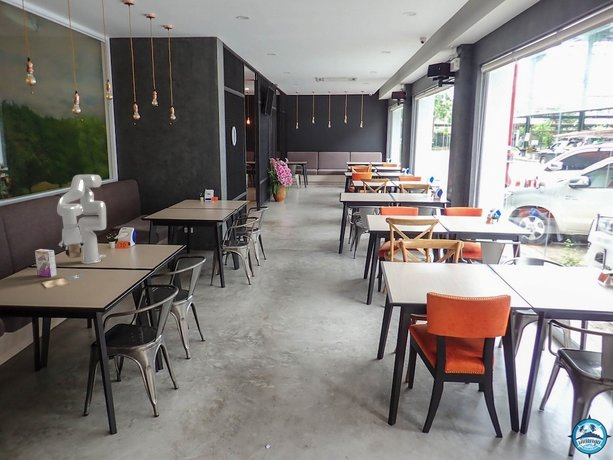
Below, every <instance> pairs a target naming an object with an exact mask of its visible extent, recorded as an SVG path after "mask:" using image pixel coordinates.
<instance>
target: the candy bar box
mask: <svg viewBox="0 0 613 460" xmlns="http://www.w3.org/2000/svg"><path fill="white" fill-rule="evenodd" d="M55 255H56V254H55V250H52V249H43V248H39V249H36V250H34V257H35V264H36V272H37V276H39V277H47V278H53V277H55V276H58V273H57V265H56V256H55Z"/></svg>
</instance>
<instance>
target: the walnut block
mask: <svg viewBox="0 0 613 460" xmlns="http://www.w3.org/2000/svg"><path fill="white" fill-rule="evenodd" d="M68 250H69V256H67V257H68V258H69V260H71V259H72V260H73V259H77V258H81V257H82V256H81V255H82V254H80V247H79V244H74V245H69V246H68Z"/></svg>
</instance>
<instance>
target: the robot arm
mask: <svg viewBox="0 0 613 460" xmlns="http://www.w3.org/2000/svg"><path fill="white" fill-rule="evenodd" d="M102 181H103V180H102V177H101V176H100V175H99V174H76V175H74V176H73V177H72V181H71V184H70V188H69V191H67V192H66V193H64V194H63V195H62V196H61V197H60V198H59V199H58V203H57V206H56V212H57V214H58V215H59V216H61V217H62V224H63V228H62V229H61V240H60V241H59V243H58V246H60V247H61V248H62V249H63V250H65V255H66V256H67V257H68V256H69V250H68V246H69V245H74V244H79V247H80V255H82V258H83V259H82V260H81V262H80V263H82V264H85V265H89V264H91V265H92V264H97V263H100V262H101V261H102V258H106V257H107V255H106V254H99V248H98V238H97V234H96V233H95V232H94V231H104V230H106V229H107V207H106V203H105V202H104V201H102V200H95V194H94V192H93V191H92V190H91V188H100V187H101V186H102ZM77 200H79V201H80V203H72V202H75V201H77ZM81 215H85V216H83V217H80V218H79V220H77V217H79V216H81ZM92 215H95V216H92ZM97 215H98V216H97Z"/></svg>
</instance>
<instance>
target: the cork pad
mask: <svg viewBox="0 0 613 460" xmlns="http://www.w3.org/2000/svg"><path fill="white" fill-rule="evenodd" d="M41 284H42V285H43V286H44V288H45V289H50V288H56V287H62V286H66V285H70V284H69V282H68V281H67V280H66V279H65V278H59V279H52V280H47V281H43V282H41Z"/></svg>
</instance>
